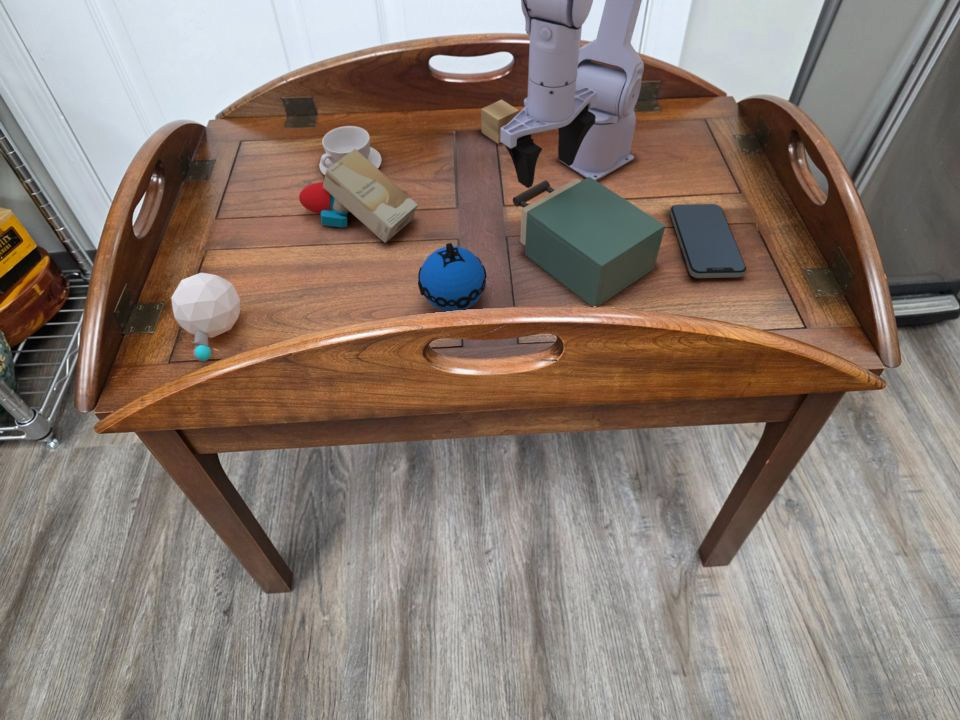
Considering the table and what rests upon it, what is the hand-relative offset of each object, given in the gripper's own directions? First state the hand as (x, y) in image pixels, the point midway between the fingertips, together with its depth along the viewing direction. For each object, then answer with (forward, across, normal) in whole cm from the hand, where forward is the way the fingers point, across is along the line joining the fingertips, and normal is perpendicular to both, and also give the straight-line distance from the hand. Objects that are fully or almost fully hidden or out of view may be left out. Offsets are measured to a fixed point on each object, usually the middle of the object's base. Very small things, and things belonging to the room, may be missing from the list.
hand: (545, 172), depth 87 cm
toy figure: (+10, +19, -21) cm, 30 cm away
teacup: (+10, +13, -31) cm, 35 cm away
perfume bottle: (+10, +46, -11) cm, 48 cm away
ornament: (+10, +19, +4) cm, 22 cm away
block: (+9, -11, -22) cm, 27 cm away
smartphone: (+10, -15, +18) cm, 25 cm away
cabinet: (+9, 0, +10) cm, 13 cm away
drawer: (+8, 0, +5) cm, 10 cm away
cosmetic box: (+8, +16, -12) cm, 21 cm away
